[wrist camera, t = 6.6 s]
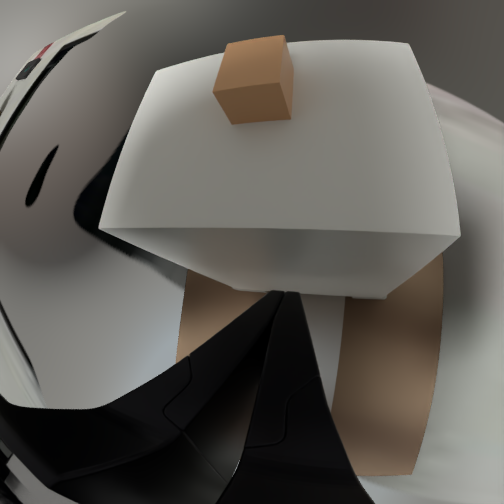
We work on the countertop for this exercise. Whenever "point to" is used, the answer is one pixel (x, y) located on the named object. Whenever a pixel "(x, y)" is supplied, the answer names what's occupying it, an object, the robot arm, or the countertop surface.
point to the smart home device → (28, 69)
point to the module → (289, 168)
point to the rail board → (353, 359)
